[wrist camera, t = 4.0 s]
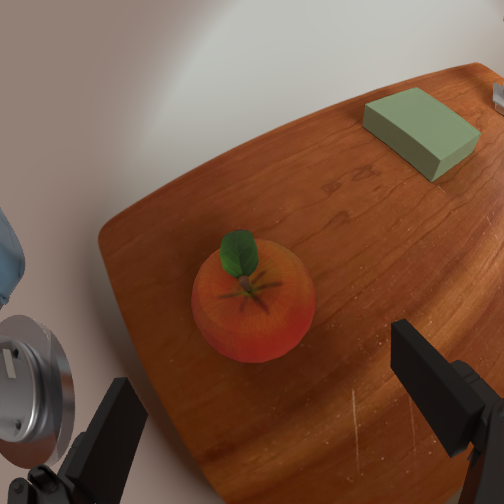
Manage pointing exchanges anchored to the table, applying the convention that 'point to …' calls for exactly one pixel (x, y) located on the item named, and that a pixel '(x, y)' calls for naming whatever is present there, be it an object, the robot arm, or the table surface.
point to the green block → (421, 131)
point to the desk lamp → (498, 97)
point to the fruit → (253, 299)
